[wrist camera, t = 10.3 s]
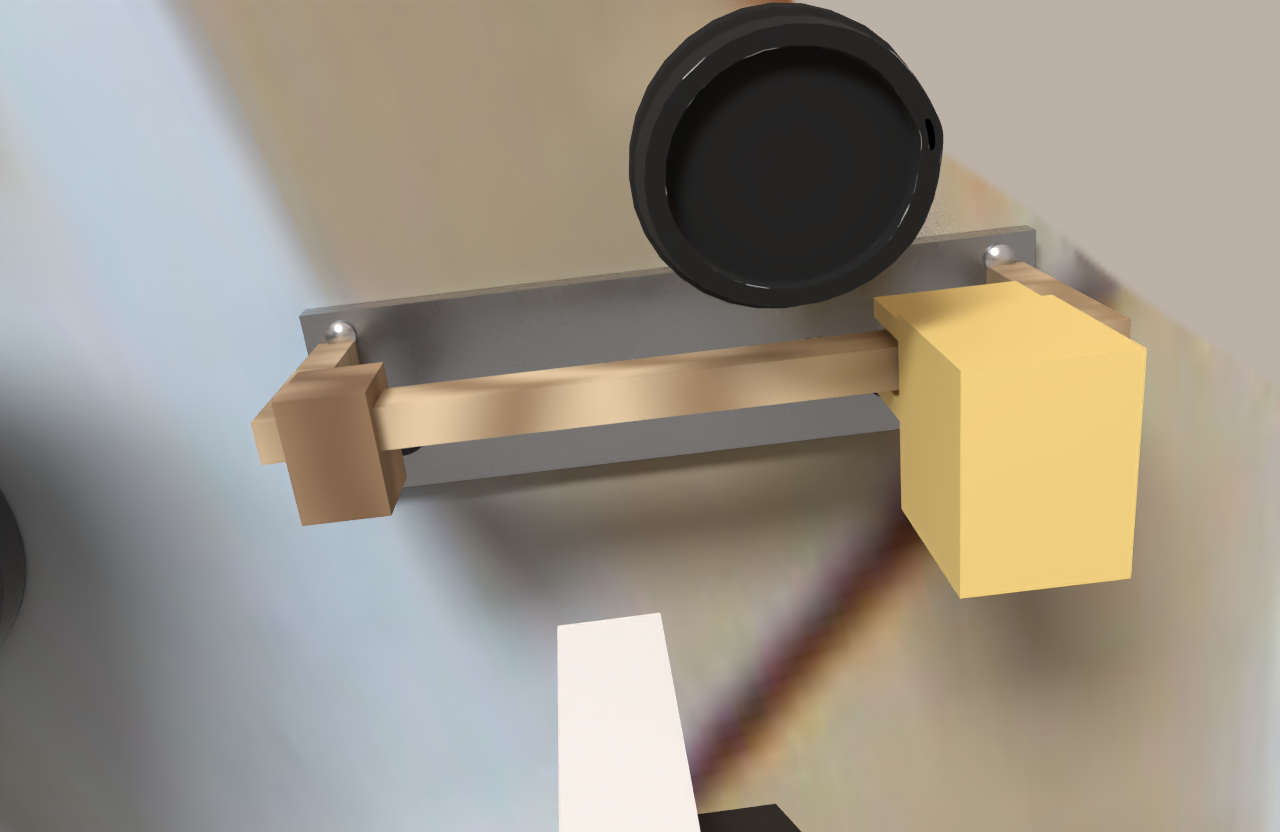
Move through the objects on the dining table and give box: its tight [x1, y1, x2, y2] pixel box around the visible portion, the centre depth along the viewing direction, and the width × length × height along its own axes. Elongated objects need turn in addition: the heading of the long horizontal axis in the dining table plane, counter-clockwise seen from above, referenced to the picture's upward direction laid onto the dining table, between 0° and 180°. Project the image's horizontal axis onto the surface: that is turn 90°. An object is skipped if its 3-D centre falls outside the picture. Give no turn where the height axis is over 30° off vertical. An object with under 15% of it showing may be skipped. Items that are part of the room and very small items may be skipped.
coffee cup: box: [629, 3, 943, 308], centre depth 34 cm, size 8×8×15 cm
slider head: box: [874, 281, 1147, 599], centre depth 36 cm, size 5×7×15 cm
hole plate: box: [299, 226, 1036, 488], centre depth 44 cm, size 30×8×1 cm, turn 96°
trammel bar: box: [251, 262, 1131, 526], centre depth 38 cm, size 29×5×10 cm, turn 96°
